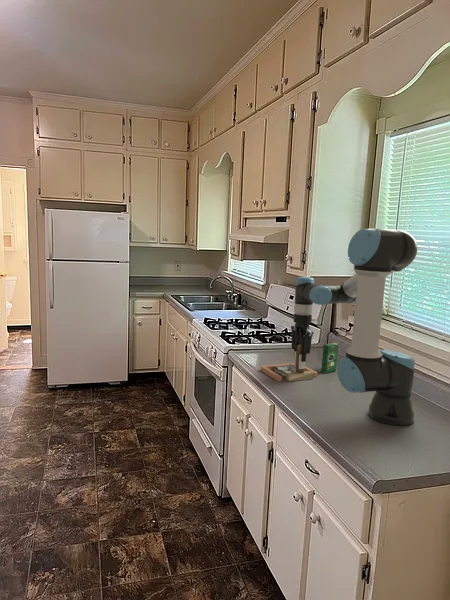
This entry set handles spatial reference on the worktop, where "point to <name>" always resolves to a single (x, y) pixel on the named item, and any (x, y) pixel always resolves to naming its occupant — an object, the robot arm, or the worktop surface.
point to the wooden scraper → (299, 370)
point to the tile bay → (277, 377)
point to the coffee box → (329, 357)
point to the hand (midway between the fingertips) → (299, 367)
